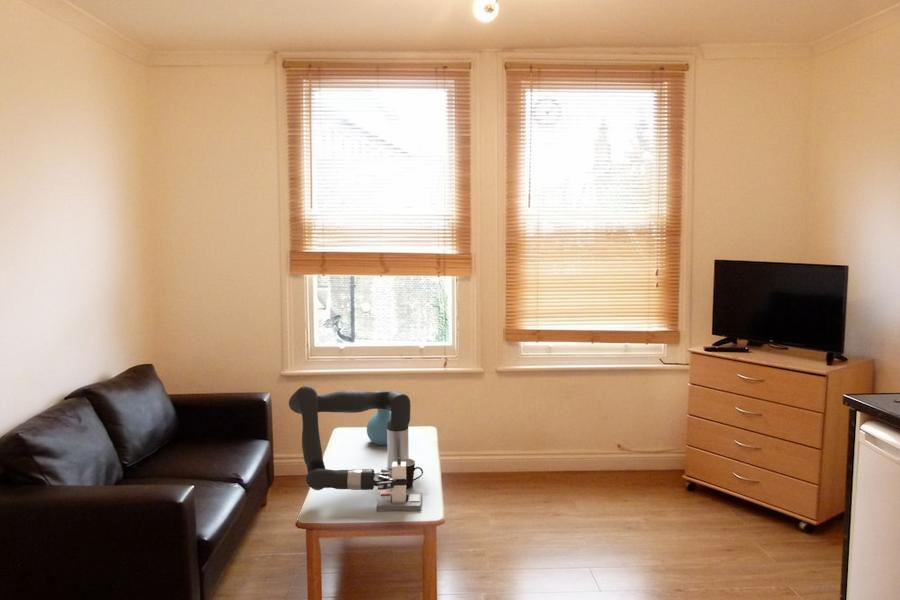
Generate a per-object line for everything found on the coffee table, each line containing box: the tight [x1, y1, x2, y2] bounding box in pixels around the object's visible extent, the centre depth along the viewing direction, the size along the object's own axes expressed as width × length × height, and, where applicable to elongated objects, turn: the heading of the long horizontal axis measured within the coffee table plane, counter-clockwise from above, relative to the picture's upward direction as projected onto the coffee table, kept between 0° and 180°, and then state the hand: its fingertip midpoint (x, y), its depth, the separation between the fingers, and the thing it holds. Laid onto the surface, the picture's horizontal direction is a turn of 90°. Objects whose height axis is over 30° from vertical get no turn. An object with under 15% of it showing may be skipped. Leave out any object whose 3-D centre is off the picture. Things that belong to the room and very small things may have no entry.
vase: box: [366, 390, 391, 446], centre depth 297 cm, size 16×16×25 cm
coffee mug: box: [394, 458, 424, 490], centre depth 245 cm, size 12×9×10 cm
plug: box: [391, 457, 407, 503], centre depth 229 cm, size 4×5×16 cm
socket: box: [376, 490, 422, 512], centre depth 230 cm, size 12×16×3 cm
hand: (406, 479), depth 229 cm, fingers closed on plug, 4 cm apart
